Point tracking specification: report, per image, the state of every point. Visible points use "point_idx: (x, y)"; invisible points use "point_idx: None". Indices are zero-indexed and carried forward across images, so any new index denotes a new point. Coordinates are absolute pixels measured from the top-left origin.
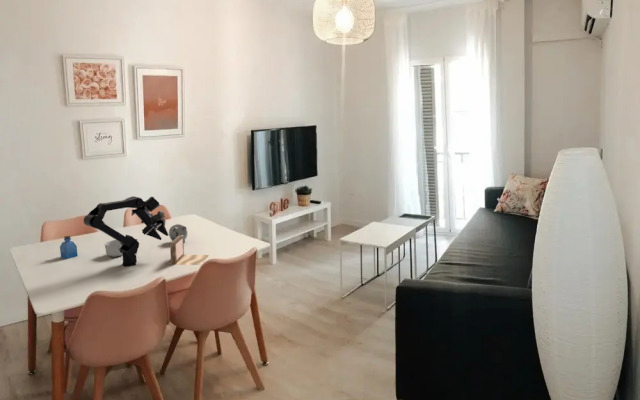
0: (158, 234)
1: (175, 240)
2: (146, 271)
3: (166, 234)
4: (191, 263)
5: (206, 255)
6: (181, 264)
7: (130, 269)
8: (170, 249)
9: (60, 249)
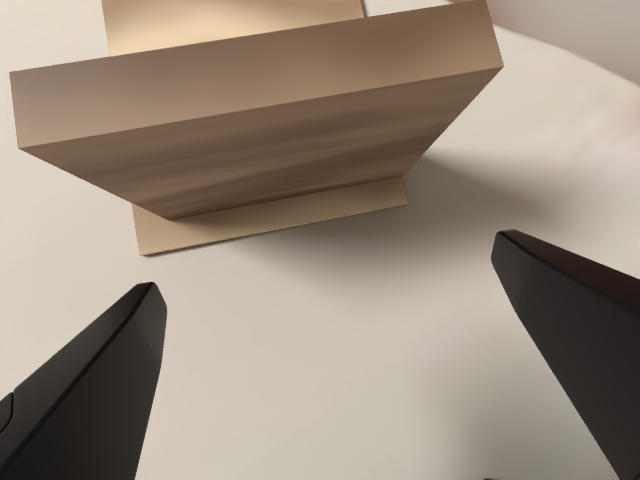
0: (613, 284)
1: (347, 49)
2: None
3: (154, 323)
4: None
5: (115, 4)
6: None
7: (590, 451)
8: (456, 115)
9: None
